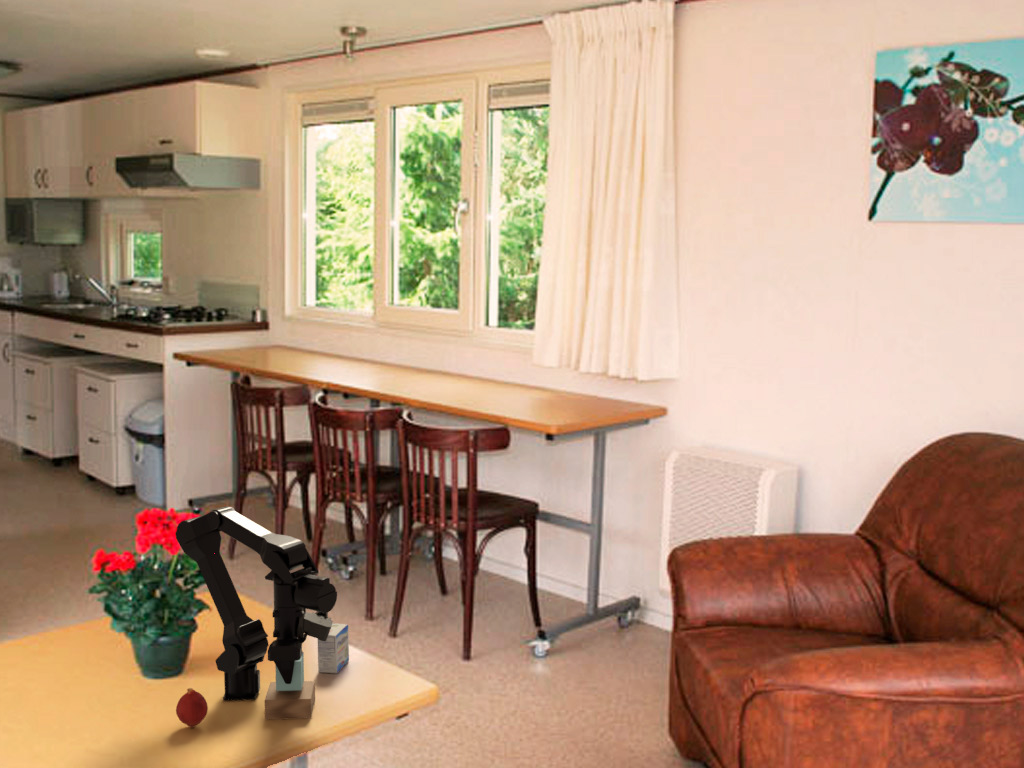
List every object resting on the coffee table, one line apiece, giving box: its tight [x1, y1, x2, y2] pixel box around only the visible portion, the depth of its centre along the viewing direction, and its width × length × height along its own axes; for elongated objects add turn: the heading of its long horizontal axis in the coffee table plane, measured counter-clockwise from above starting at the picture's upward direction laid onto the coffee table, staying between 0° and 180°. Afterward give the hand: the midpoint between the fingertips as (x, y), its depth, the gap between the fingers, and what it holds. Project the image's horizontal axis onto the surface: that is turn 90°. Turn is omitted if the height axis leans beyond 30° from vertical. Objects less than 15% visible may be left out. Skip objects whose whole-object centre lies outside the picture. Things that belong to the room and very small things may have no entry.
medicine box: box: [317, 622, 350, 675], centre depth 247 cm, size 8×4×9 cm, turn 168°
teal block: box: [274, 652, 305, 691], centre depth 225 cm, size 5×5×6 cm
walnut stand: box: [264, 680, 316, 720], centre depth 225 cm, size 9×9×4 cm
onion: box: [175, 687, 209, 728], centre depth 217 cm, size 6×6×8 cm
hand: (289, 678), depth 225 cm, fingers closed on teal block, 5 cm apart
